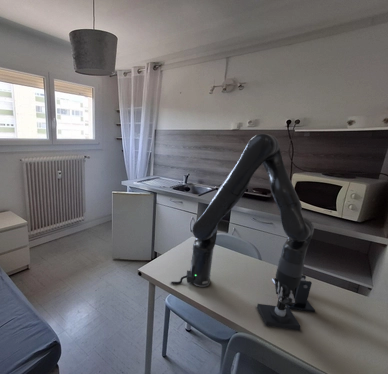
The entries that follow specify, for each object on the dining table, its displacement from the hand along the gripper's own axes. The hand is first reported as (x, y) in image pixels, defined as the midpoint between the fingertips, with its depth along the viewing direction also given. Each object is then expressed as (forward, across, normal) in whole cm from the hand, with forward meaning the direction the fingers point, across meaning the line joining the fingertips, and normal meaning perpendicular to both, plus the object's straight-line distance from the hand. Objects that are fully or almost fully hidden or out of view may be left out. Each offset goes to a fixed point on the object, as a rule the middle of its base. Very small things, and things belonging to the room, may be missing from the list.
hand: (280, 308), depth 85 cm
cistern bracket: (+6, -11, +12) cm, 17 cm away
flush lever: (-3, -11, +8) cm, 14 cm away
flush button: (+2, 0, 0) cm, 2 cm away
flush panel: (+6, -1, 0) cm, 6 cm away
